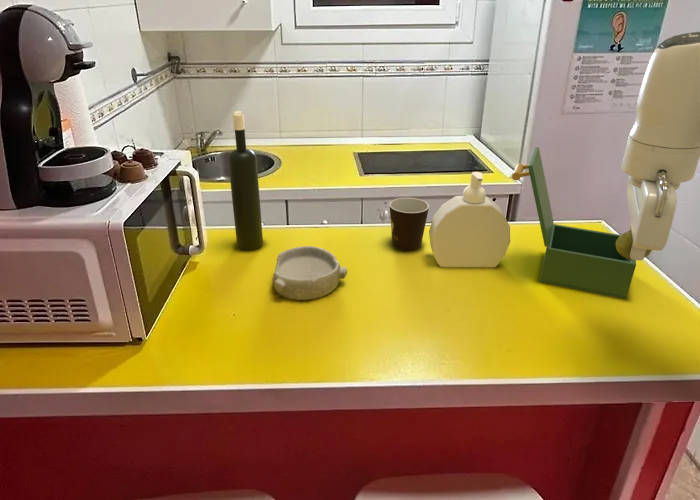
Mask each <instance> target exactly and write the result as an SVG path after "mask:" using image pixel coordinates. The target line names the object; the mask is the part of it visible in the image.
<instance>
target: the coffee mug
mask: <svg viewBox="0 0 700 500" xmlns="http://www.w3.org/2000/svg"><path fill="white" fill-rule="evenodd" d="M388 206H389V217H390V218H389V219H390V232H391V243H392V247H393V248H394V249H396V250H398V251H402V252H415V251H418V250H420V248H421V247H422V242H423V238H424V235H425V234H424V233H425V229H426V223H427V219H428V214H429V209H430V204H429V203H428V202H427V201H425V200H423V199H419V198H416V197H400V198H395V199H393V200H391V201H390V202H389V205H388Z"/></svg>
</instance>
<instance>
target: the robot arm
mask: <svg viewBox="0 0 700 500" xmlns="http://www.w3.org/2000/svg"><path fill="white" fill-rule="evenodd" d="M699 160H700V31H694V32H687V33H682V34H677V35H673V36H671V37H668V38H666V39H664V40H663V41H662V42H660V43H659V44H658V45H657V46H656V47H655V49H654V51H653V53H652V54H651V57H650V59H649V61H648V63H647V66H646V70H645V71H644V76H643V78H642V81H641V85H640V89H639V92H638V96H637V100H636V118H635V121H634V124H633V125H632V127H631V128H630V131H629V133H628V137H627V142H626V146H625V150H624V154H623V158H622V162H621V167H620V168H621V171H622V172H624V173H625V174H626V175H627V183H626V202H627V209H628V215H629V222H630V223H629V231H630V230H632V237H633V244H632V245H631V249H630V258H631V259H633V260H636V261H639V262H641V261H643V260H644V259H645V258H644V256H645V253H646V250H647V249H649V250H652V251H663V250H664V249H665V247H666V246H667V243H668V240H669V236H670V234H671V233H670V232H671V228H672V225H673V220H674V217H675V213H676V207H677V202H678V195H677V192H676V190H679V188H680V186H681V183H686V182H689V181H691V180H693V178H695V177H694V176H695V175H696V174H695V173H696V171H697V167H698V163H699Z"/></svg>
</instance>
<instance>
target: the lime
mask: <svg viewBox="0 0 700 500" xmlns="http://www.w3.org/2000/svg"><path fill="white" fill-rule="evenodd" d="M619 235H620V236H619V238H618V239H617V240H616V249H617V251H618V253H619V254H620V255H622V256H623V257H625V258H627V259H630V260H633V259H631V258H630V249H631V245H632V244H633V237H632V230H630V229H629V230H628V231H626V232H623V233H622V234H619ZM652 251H653V250H649V249H647V250H646V253H645V256H644V259H645V258H646V257H648V256H649V255H650V254H651V253H652Z"/></svg>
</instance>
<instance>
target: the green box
mask: <svg viewBox="0 0 700 500" xmlns="http://www.w3.org/2000/svg"><path fill="white" fill-rule="evenodd" d="M620 235H621V234H618V233H617V234H616V233H611V232H605V231H599V230H593V229H587V228H580V227H574V226H567V225H562V224H555V223H553V227H552V233H551V238H550V243H549V246H546V248H545V252H544V257H543V261H542V267H541V272H540V277H539V282H540V283H543V284H548V285H554V286H559V287H564V288H567V289H568V288H569V289H574V290H580V291H584V292H587V293H588V292H589V293H594V294H599V295H604V296H610V297H612V298H613V297H614V298H619V299H624V300H627V296H628V293H629V290H630V287H631V283H632V280H633V278H634V274H635V270H636V266H637V260H630V259H627V258H625V257H623V256H622V255H620V254H619V253H618V251H617V249H616V240H617V239H618V238H619V236H620Z"/></svg>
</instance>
